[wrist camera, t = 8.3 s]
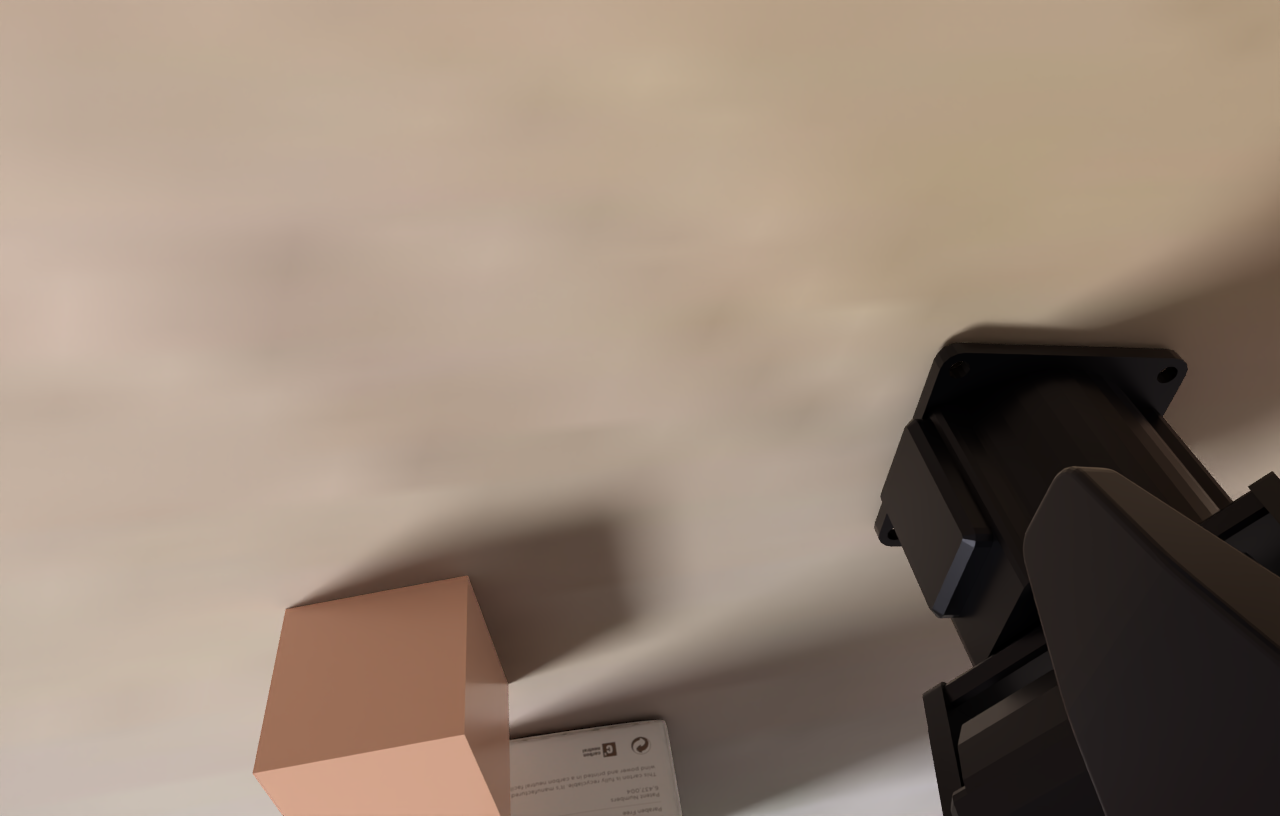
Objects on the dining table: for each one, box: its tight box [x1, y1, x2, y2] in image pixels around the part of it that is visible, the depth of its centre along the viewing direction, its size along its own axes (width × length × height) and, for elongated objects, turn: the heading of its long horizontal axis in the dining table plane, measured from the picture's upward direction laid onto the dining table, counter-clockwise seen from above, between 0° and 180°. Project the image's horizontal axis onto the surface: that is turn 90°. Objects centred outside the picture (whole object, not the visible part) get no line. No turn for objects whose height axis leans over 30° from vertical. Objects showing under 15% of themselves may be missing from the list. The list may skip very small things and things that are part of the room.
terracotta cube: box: [253, 575, 511, 816], centre depth 27 cm, size 5×5×5 cm
